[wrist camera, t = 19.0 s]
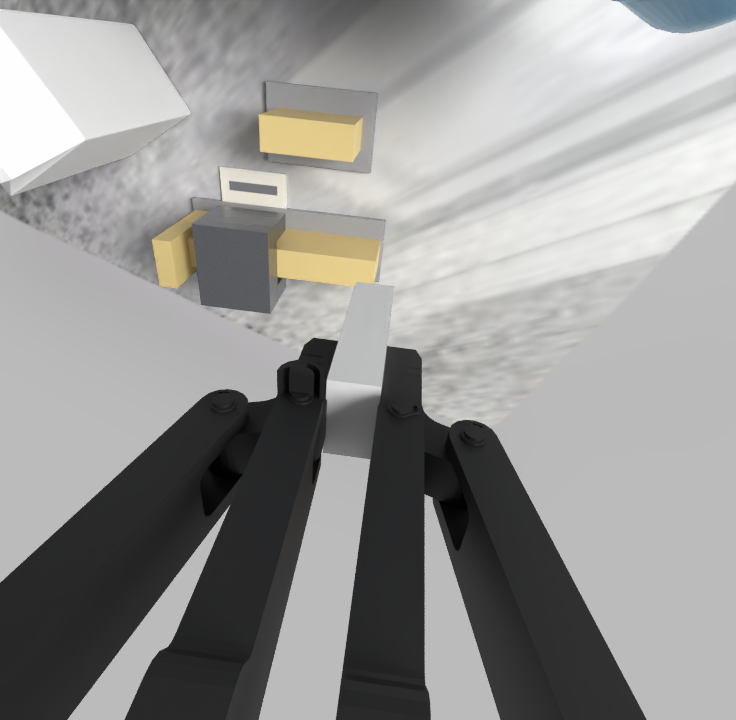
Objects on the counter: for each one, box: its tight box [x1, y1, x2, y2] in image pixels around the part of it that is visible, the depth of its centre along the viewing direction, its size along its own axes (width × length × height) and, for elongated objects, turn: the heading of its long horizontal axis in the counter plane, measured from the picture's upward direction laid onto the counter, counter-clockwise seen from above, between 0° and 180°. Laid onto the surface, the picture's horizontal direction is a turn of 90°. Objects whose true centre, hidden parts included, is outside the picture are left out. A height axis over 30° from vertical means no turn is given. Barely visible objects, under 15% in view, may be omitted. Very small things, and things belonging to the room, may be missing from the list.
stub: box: [259, 81, 378, 173], centre depth 37 cm, size 6×9×6 cm, turn 85°
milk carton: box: [0, 9, 190, 196], centre depth 31 cm, size 7×7×19 cm
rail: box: [152, 197, 386, 288], centre depth 41 cm, size 6×18×9 cm, turn 85°
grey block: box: [191, 205, 286, 314], centre depth 40 cm, size 7×6×6 cm
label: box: [220, 166, 287, 209], centre depth 42 cm, size 3×6×1 cm, turn 85°
